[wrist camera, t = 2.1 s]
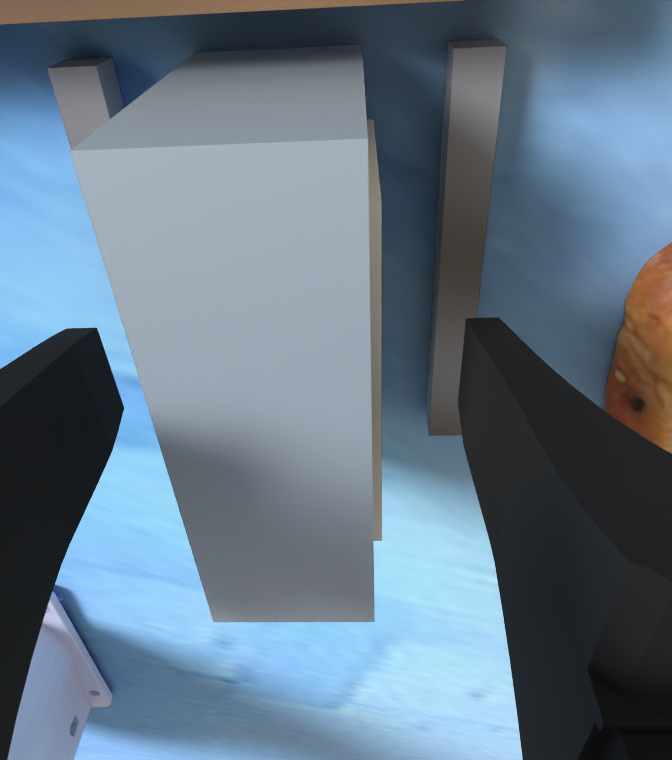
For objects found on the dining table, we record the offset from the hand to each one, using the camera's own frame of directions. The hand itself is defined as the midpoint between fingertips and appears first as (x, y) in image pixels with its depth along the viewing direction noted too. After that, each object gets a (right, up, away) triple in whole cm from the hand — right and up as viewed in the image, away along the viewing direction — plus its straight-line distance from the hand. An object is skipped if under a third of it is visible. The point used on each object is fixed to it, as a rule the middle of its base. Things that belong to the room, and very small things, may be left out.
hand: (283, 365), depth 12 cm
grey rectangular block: (0, +3, +4) cm, 5 cm away
